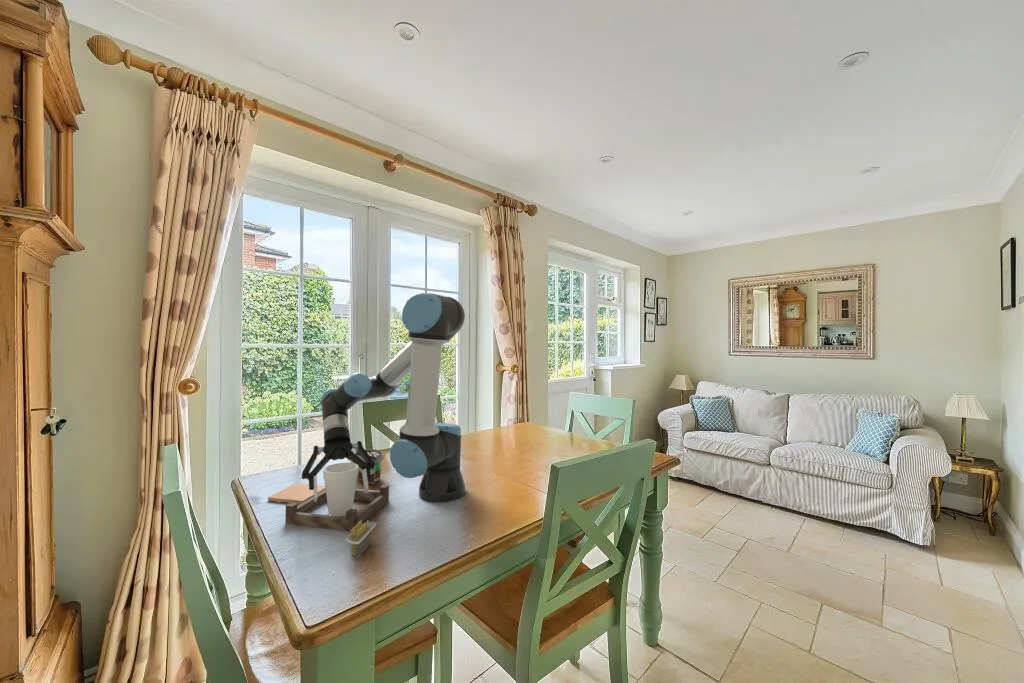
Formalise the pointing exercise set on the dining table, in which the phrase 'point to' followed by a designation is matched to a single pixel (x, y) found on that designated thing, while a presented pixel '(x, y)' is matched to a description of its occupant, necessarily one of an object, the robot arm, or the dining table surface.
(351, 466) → the foam cup
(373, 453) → the cake slice
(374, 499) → the frame
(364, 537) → the grey yellow plug connector
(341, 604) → the dining table surface
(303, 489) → the terracotta tile
